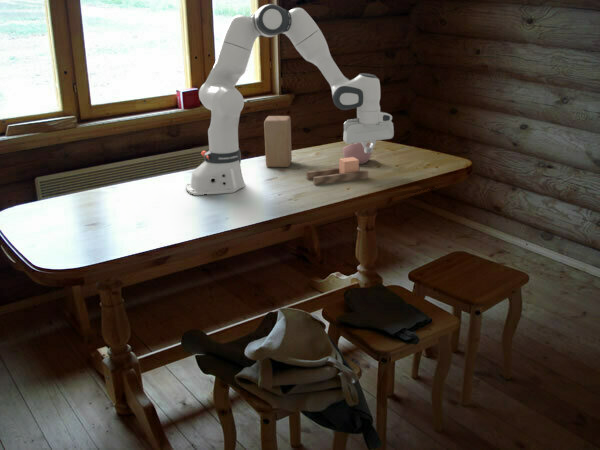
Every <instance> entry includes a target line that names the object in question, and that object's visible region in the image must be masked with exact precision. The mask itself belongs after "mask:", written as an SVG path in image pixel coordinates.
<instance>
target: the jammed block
mask: <svg viewBox="0 0 600 450" xmlns="http://www.w3.org/2000/svg"><path fill="white" fill-rule="evenodd" d="M338 161H339V162H338V163H339V164H338V168H339V174H340V173H348V172H355V171H359V166H360V164H359V160H358V159H356V158H354V157H349V158H345V157H342V158H339V159H338Z"/></svg>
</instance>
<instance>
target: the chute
mask: <svg viewBox="0 0 600 450" xmlns="http://www.w3.org/2000/svg"><path fill="white" fill-rule="evenodd" d="M305 173H306V175H305V176H306V178H305V179H306V180H307V181H310V180H312V181H313V185H314V186H319V185H328V184H334V183H335V184H336V183H343V182H348V181H357V180H365V179H368V178H369V171H368V170H367V169H365V170H360V165H359V171H355V172H348V173H340V174H339V167H334V168H325V169H317V170H310V171H305Z"/></svg>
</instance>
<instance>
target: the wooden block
mask: <svg viewBox="0 0 600 450" xmlns="http://www.w3.org/2000/svg"><path fill="white" fill-rule="evenodd" d="M291 121H292V120H291V117H290V115H268V116H267V117H266V118H265V120H264V122H263V129H264V147H265V148H264V150H265V151H264V153H265V166H266V168H289V167H290V165H291V163H292V159H293V158H292V154H293V153H292V127H291V126H292V124H291V123H292V122H291Z"/></svg>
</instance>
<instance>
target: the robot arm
mask: <svg viewBox="0 0 600 450" xmlns="http://www.w3.org/2000/svg"><path fill="white" fill-rule="evenodd" d="M280 34H283V35H285V37H287V38H288V39H289V40H290V42H291V43H292V44H293V47H294V48H295V50H296V52H298V53H299V55H300V56H301V57H302V58H303V59H304V60H305V61H306V62H309V63H311V64H313V65H314V66H316V67H317V69H319V71H320V72H321V74H322V75H323V77H324V78H325V80H326V81H327V83H328V85H329V86H330V90H331V96H332V101H333V104H334V106H335V107H336V108H337V109H339V110H341V111H347V110H352V109H356V117H355V118H349V119H347V120H345V121H344V123H343V138H342V139H343V142H344V143H345V144H347V145H351V144H353V143H354V144H356V143H361V144H362V145H363V147H364V152H365V153H369V152H372V153H373V151H374V147H375V146H376V141H382V140H390V139H393V138H394V134H395V130H394V128H395V127H394V122H392V120H393V116H392V115H391V114H390V113H388V112H384V111H381V105H380V102H381V101H380V100H381V83H380V78H378V77H377V76H376V75H375V74H371V73H366V72H365V73H364V72H363V73H359V74H358V75H356V77H354V78H352V79H349V78H348V77H346V76H345V75H344V74H343V73H342V71H341V70H340V68H339V67H338V65H337V64H336V62H335V61H334V58H333V57H332V55H331V53H330V49H329V46H328V43H327V40H326V38H325V36H324V34H323V32H322V30H321V29H320V28H319V26H318V24H317V23H316V22H315V21H314V19H313V18H312V17H311V15H309V13H308V12H307V11H306V10H305V9H304V8H302V7H293V8H292V9H290V10H287V9H285V8H283V7H281V6H279V5H278V4H273V3H267V4H264V5H262V6H259V7H258V8H257V9H256V10H255V12H253V14H251V15H250V16H248V15H243V14H237V15H235V16H233V17H232V18H231V20H230V21H229V23H228V25H227V27H226V29H225V32H224V35H223V37H222V41H221V43H220V46H219V49H218V53H217V57H216V60H215V62H214V65H213V67H212V69H211V70H210V72H209V74H208V76H207V79H206V80H205V82H204V83H203V84H202V85H201V86H200V88H199V89H198V97H199V101H200V102H201V104H202V105H203V107H204V108H206V109H207V110H209V111H211V112H210V113H211V115H210V116H211V117H210V125H209V128H208V129H207V136H208V149H209V150H207V151H206V150H202V151H201V152H200V154H201V156H202V157H204V161H203V162H202V163H201V164H200V165H198V166H197V167H196V168H195V169H194V170H193V171H192V173H191V178H190V182H188V183H186V184H185V191H186V192H187V191H188V192H189V193H188V192H187V193H188V194H190V193H191V194H190V195H192V194H193V196H203V195H204V194H207V195H219V194H233V193H236V192H237V191H238V190H240V189H242V188H243V189H244V187H245V186H246V182H245V180H244V177H243V176H244V175H243V173H242V166H241V164H242V163H241V161H242V156H241V155H242V154H241V149H240V148H239V145H240V144H239V122H240V117H241V112H242V110H244V109H243V108H244V105H245V99H244V97H243V94H241V92H240V91H239V90H238V88H236V87H235V86H236V85H237V83H238V82H239V80H240V79H241V77H242V76H243V75H244V74H245V72H246V69H247V68H248V67H247V66H248V63H249V59H250V57H251V54H252V50H253V47H254V43H255V41H256V39H257V38H258V37H263V38H272V37H276V36H277V35H280ZM367 143H370V146H369V147H367V146H366V144H367ZM204 196H205V195H204Z"/></svg>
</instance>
